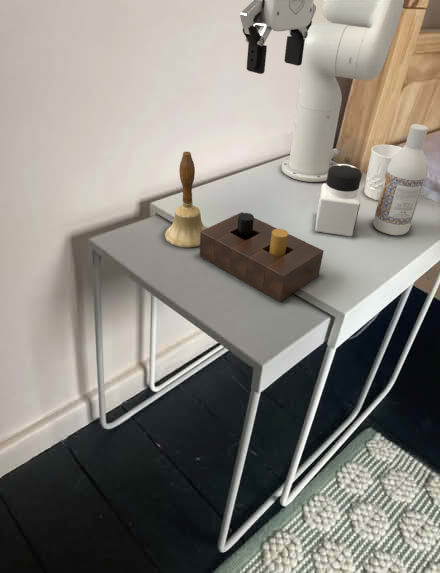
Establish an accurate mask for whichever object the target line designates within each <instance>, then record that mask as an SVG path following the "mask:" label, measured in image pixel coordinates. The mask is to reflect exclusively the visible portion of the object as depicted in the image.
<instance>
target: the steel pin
mask: <svg viewBox="0 0 440 573" xmlns="http://www.w3.org/2000/svg"><path fill="white" fill-rule="evenodd" d="M240 213H241V212H240ZM238 214H239V213H238ZM254 218H255V216H254V214H252V213H249V212H243V213H241V214H239V216H238V227H237V236H238V237H240V238H242V239H244V240H245V241H246V240H248V239H250V238H252V233H253V223H254Z"/></svg>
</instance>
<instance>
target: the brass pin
mask: <svg viewBox="0 0 440 573" xmlns="http://www.w3.org/2000/svg"><path fill="white" fill-rule="evenodd" d="M288 234H289V232H288V231H287V230H285V229H283V228H277V229H274V230H273V231H272V234H271V242H270V250H269V253H271V254H273V255H275V256H277V257H279V258H281V257H283V256H284V255H285V252H286V246H287V239H288Z"/></svg>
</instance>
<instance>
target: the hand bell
mask: <svg viewBox="0 0 440 573" xmlns="http://www.w3.org/2000/svg"><path fill="white" fill-rule="evenodd" d="M195 174H196V170H195V162H194V159H193V157H192V153H191V152H190V151H184V152H182V157H181V160H180V162H179V179H180V182H181V186H182V205H179V206H177V207H176V208H175V211H174V217H173V222H172V224H171V225H170V226H169V227H168V228H167V229H166V230H165V233H164V239H165V241H167V242H168V243H169V244H170V245H173V246H175V247H177V248H183V249H187V248H189V249H191V248H198V247H200V232H201V231H203V230H205V229H207V227H205V225H204V224H203V220H202V217H201V210H200V208H199V207H198V206H196V205H193V190H192V189H193V185H194V181H195Z"/></svg>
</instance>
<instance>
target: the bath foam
mask: <svg viewBox="0 0 440 573" xmlns="http://www.w3.org/2000/svg"><path fill="white" fill-rule="evenodd" d="M428 131H429V127H428V126H426V125H424V124H420V123H413V124H411V125H410V127H409V132H408V134H407V138H406V140H405V141H406V142H405V145H404V146H403V147H401V148H402V149H401V150H400V151H398V152H397V153H396V154H395V156H394V157H393V158H392V159H391V161H390V163H389V165H388V168H387V171H386V175H385V179H384V182H383V186H382V190H381V194H380V198H379V200H377V201H378V202H377V205H376V209H375V212H374V213H375V214H374V217H373V223H372V224H373V226H374V228H375V229H376V230H377V231H379V232H381V233H383V234H386V235H390V236H403V235H405V234H407V233H408V232H409V231H410V228H411V225H412V222H413V219H414V216H415V213H416V209H417V206H418V203H419V199H420V196H421V193H422V190H423V187H424V184H425V181H426V179H427V178H426V177H427V173H428V162H427V158H426V155H425V152H424V149H423V147H424V144H425V140H426V137H427V134H428Z"/></svg>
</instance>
